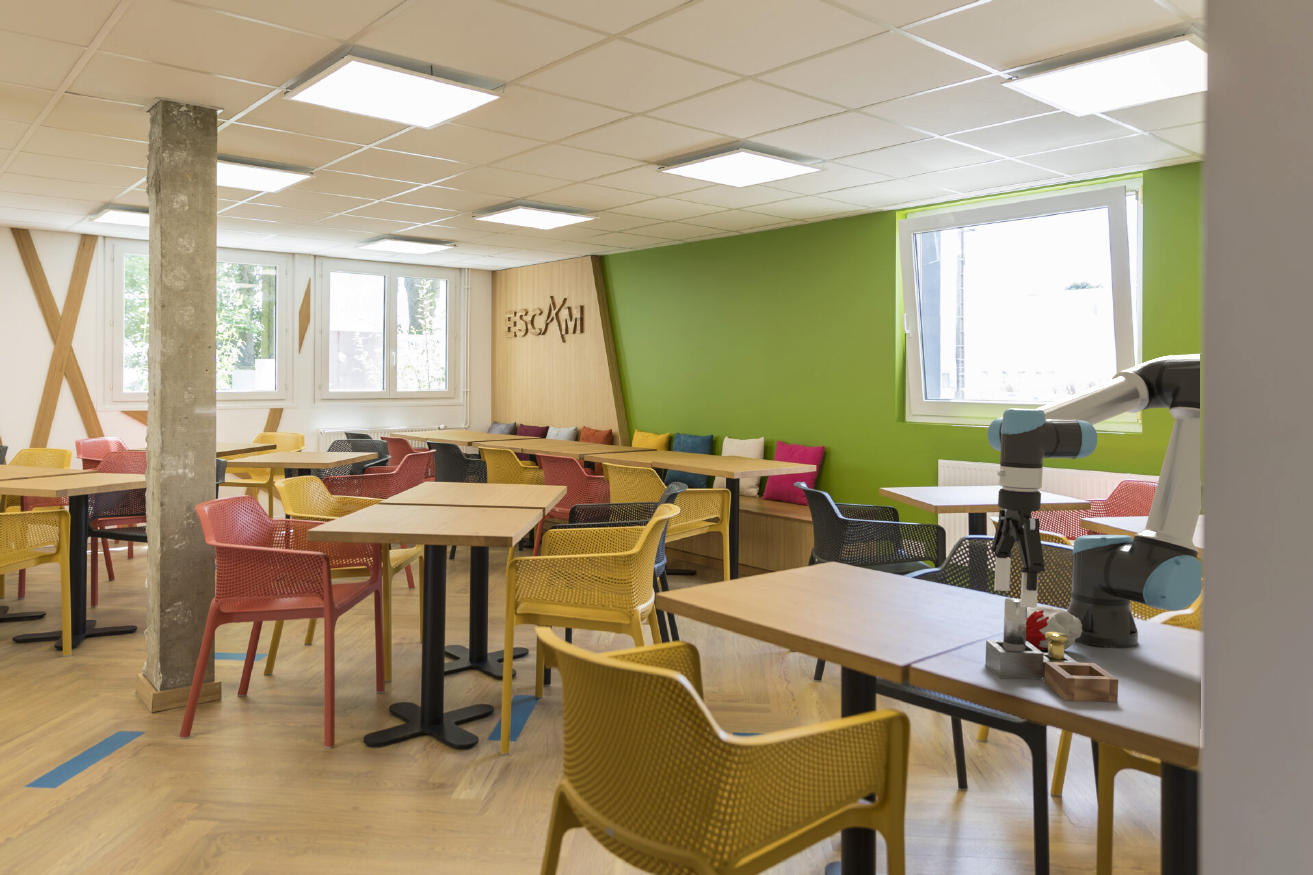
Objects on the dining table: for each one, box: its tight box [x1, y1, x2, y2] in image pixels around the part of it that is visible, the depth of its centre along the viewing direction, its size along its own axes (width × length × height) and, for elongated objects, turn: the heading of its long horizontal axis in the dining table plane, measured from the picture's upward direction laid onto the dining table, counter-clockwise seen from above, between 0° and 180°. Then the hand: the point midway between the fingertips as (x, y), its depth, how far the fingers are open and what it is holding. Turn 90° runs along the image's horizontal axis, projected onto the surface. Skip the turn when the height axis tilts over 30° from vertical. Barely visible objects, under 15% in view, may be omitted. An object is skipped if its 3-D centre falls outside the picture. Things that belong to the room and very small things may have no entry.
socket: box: [984, 639, 1079, 680], centre depth 165 cm, size 15×8×5 cm, turn 88°
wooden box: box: [1044, 662, 1119, 703], centre depth 154 cm, size 9×9×4 cm
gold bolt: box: [1045, 632, 1068, 661], centre depth 165 cm, size 4×4×7 cm
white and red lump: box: [1026, 605, 1082, 651], centre depth 181 cm, size 9×11×15 cm
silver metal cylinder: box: [1002, 598, 1028, 651], centre depth 165 cm, size 4×4×14 cm
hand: (1014, 598), depth 164 cm, fingers open, 13 cm apart
